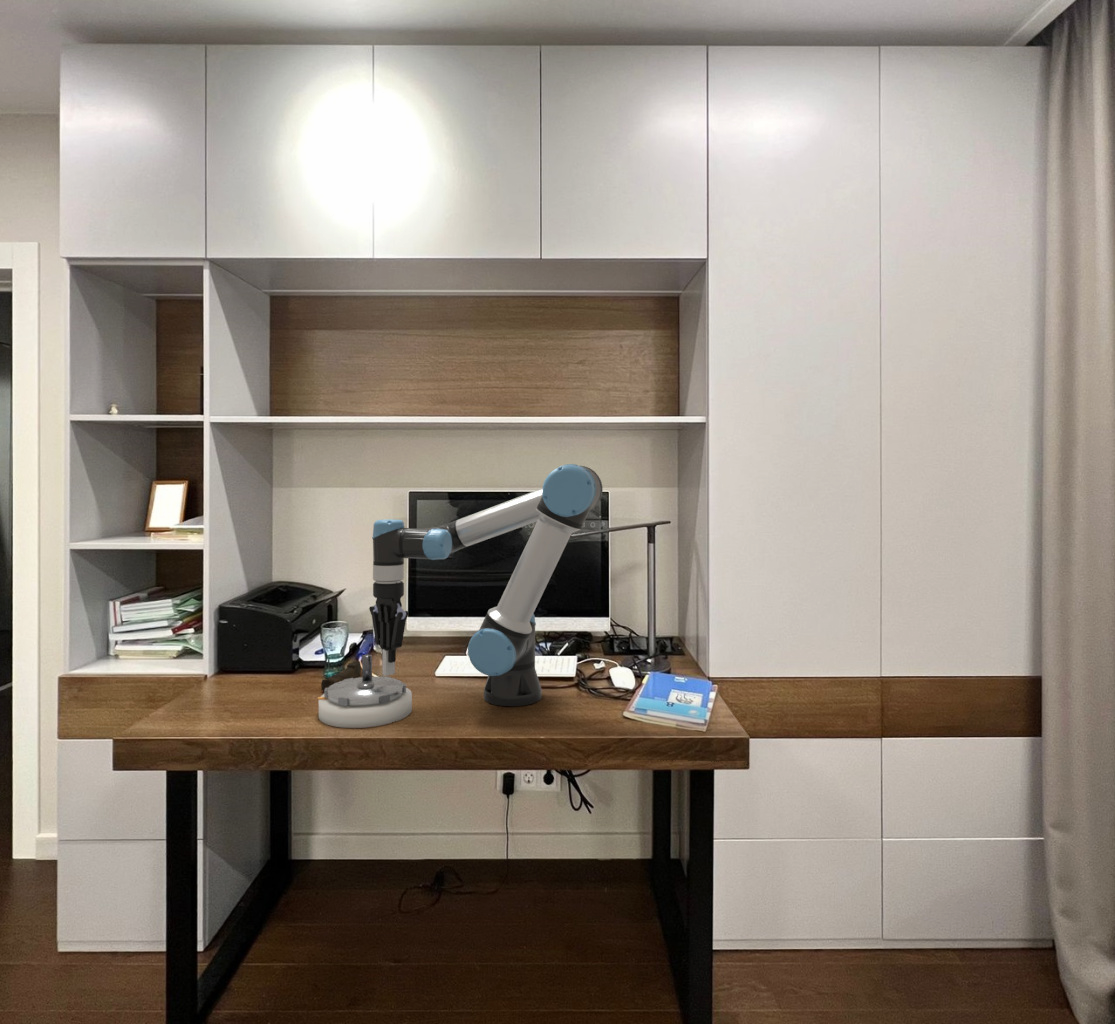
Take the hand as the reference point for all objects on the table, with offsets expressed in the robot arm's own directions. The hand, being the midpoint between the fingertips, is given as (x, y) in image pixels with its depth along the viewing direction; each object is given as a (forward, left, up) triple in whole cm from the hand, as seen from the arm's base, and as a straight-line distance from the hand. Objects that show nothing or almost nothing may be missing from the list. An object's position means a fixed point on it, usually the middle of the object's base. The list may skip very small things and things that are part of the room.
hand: (388, 674), depth 178 cm
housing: (+3, +6, -8) cm, 10 cm away
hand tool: (+23, -14, -9) cm, 28 cm away
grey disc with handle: (+3, +6, -4) cm, 8 cm away
